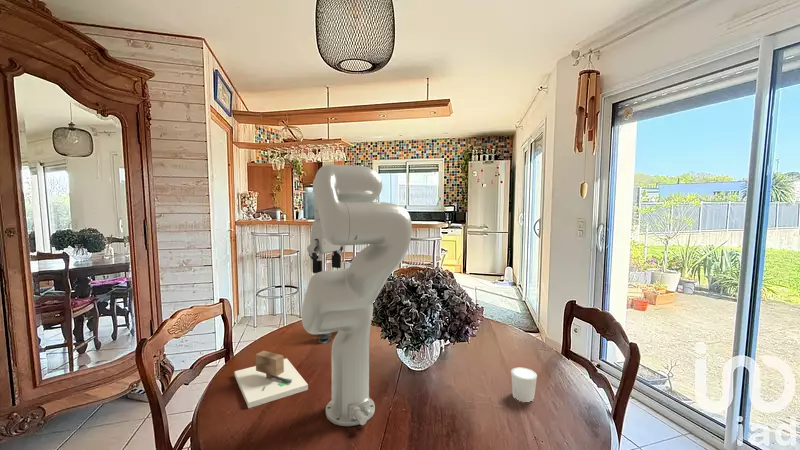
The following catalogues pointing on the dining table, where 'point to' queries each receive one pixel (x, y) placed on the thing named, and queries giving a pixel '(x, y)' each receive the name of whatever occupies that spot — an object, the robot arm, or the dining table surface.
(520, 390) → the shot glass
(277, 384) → the board
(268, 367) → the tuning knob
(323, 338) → the salt shaker
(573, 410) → the dining table surface
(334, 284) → the robot arm
